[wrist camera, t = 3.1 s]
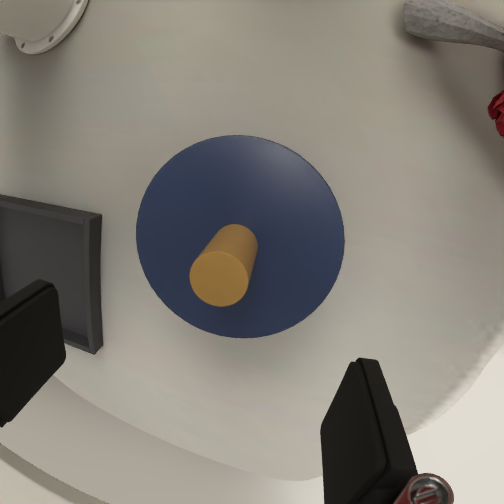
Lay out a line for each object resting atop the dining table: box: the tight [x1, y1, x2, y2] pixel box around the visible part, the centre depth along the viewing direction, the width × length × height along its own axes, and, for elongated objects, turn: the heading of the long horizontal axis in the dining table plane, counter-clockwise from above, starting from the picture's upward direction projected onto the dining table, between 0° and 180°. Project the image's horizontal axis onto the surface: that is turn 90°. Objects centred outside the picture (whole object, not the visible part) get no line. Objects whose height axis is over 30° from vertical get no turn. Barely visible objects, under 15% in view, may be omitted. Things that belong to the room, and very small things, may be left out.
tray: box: [0, 195, 103, 355], centre depth 34 cm, size 20×18×2 cm
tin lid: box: [136, 135, 345, 338], centre depth 18 cm, size 14×14×7 cm
